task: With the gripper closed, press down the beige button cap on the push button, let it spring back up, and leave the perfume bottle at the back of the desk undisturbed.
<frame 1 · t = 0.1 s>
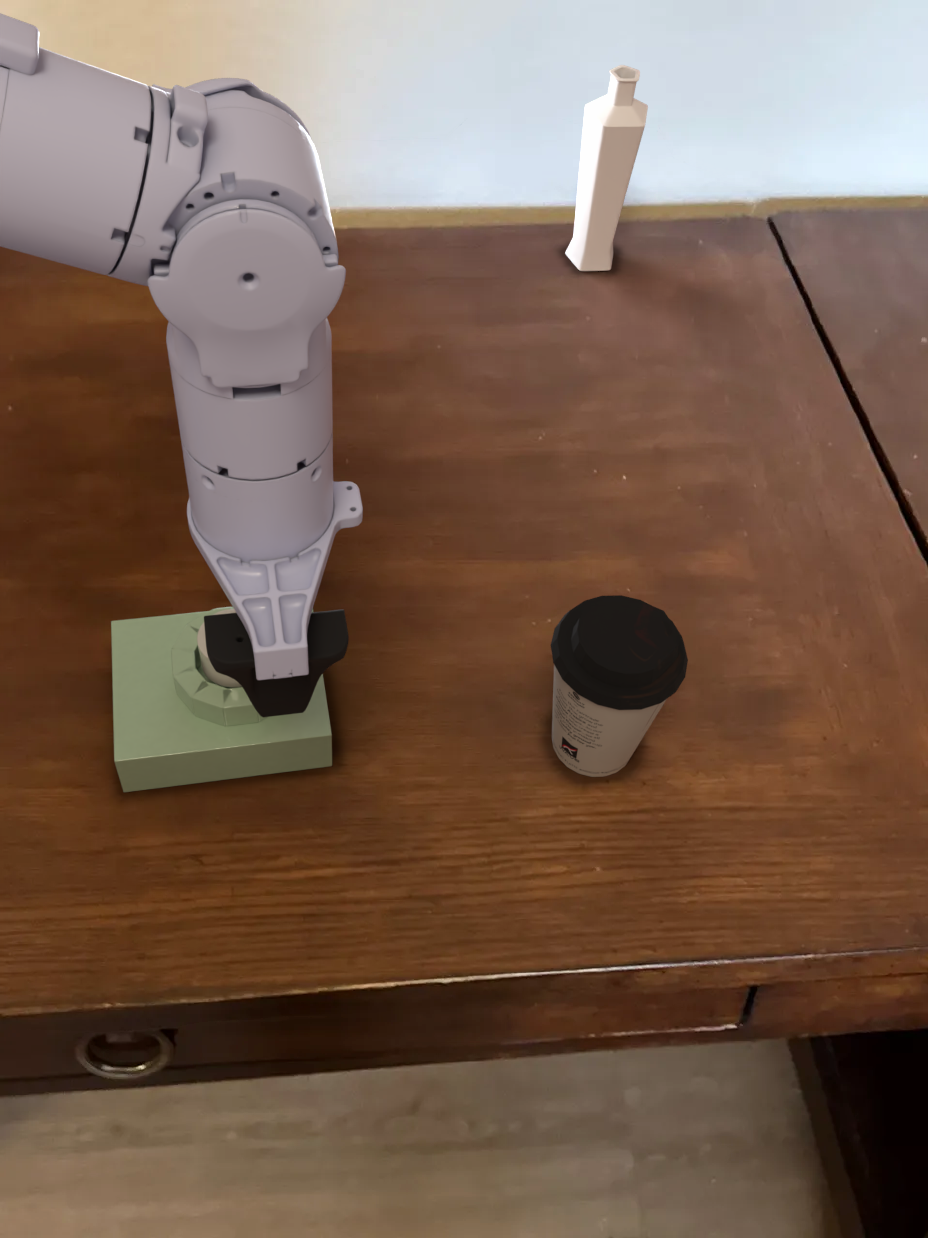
hand: (274, 640, 57), 11 cm above the table, tool pointing down, fingers open, 7 cm apart
coffee cup: (591, 743, 68), on the table
beige button cap: (234, 648, 63), point 6 cm above the table, slide at 0.1 cm
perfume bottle: (589, 260, 95), on the table
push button: (223, 709, 67), on the table
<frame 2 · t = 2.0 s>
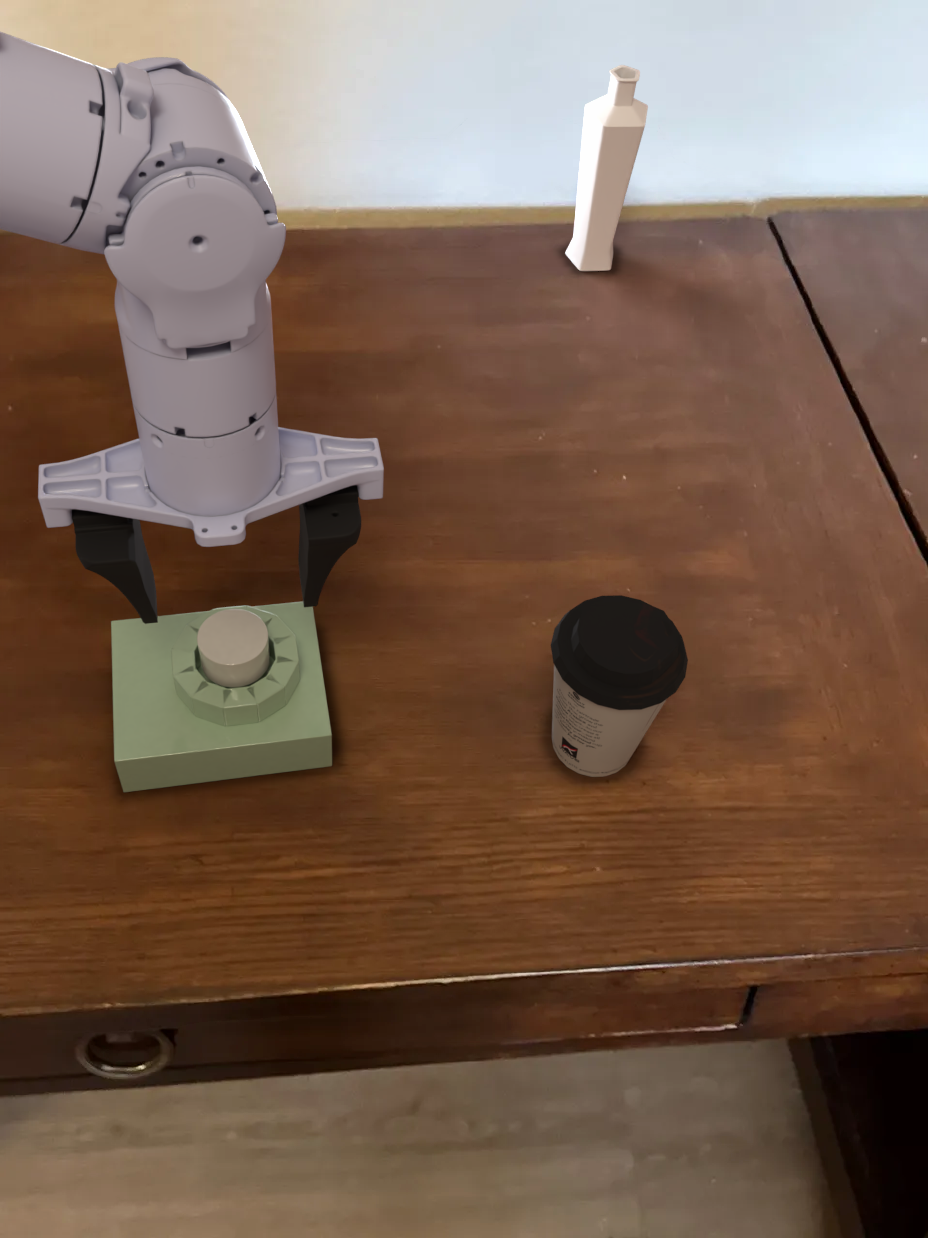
hand: (230, 599, 59), 10 cm above the table, tool pointing down, fingers open, 7 cm apart
nothing on the table moved.
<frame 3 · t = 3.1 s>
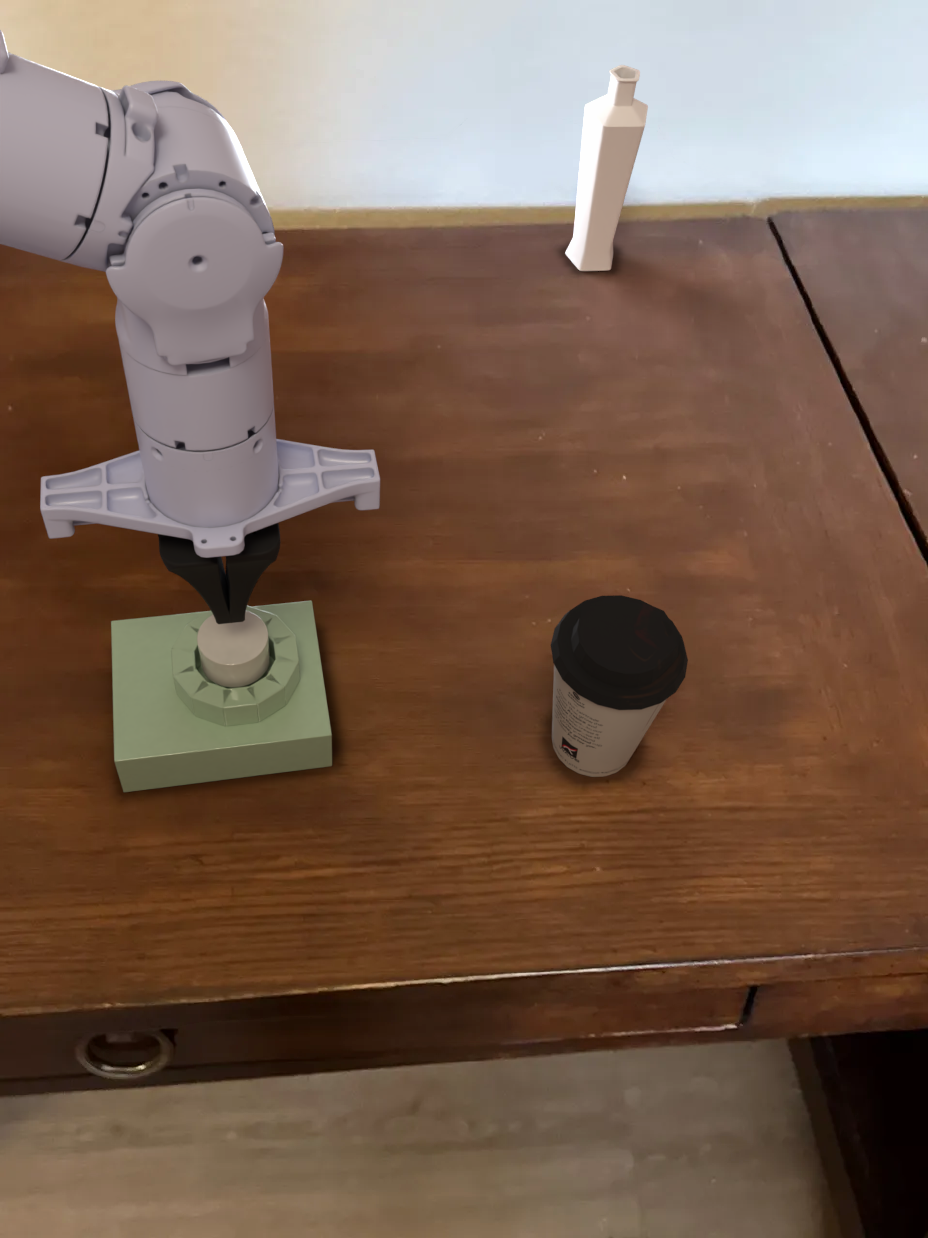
hand: (229, 607, 60), 9 cm above the table, tool pointing down, fingers closed
nothing on the table moved.
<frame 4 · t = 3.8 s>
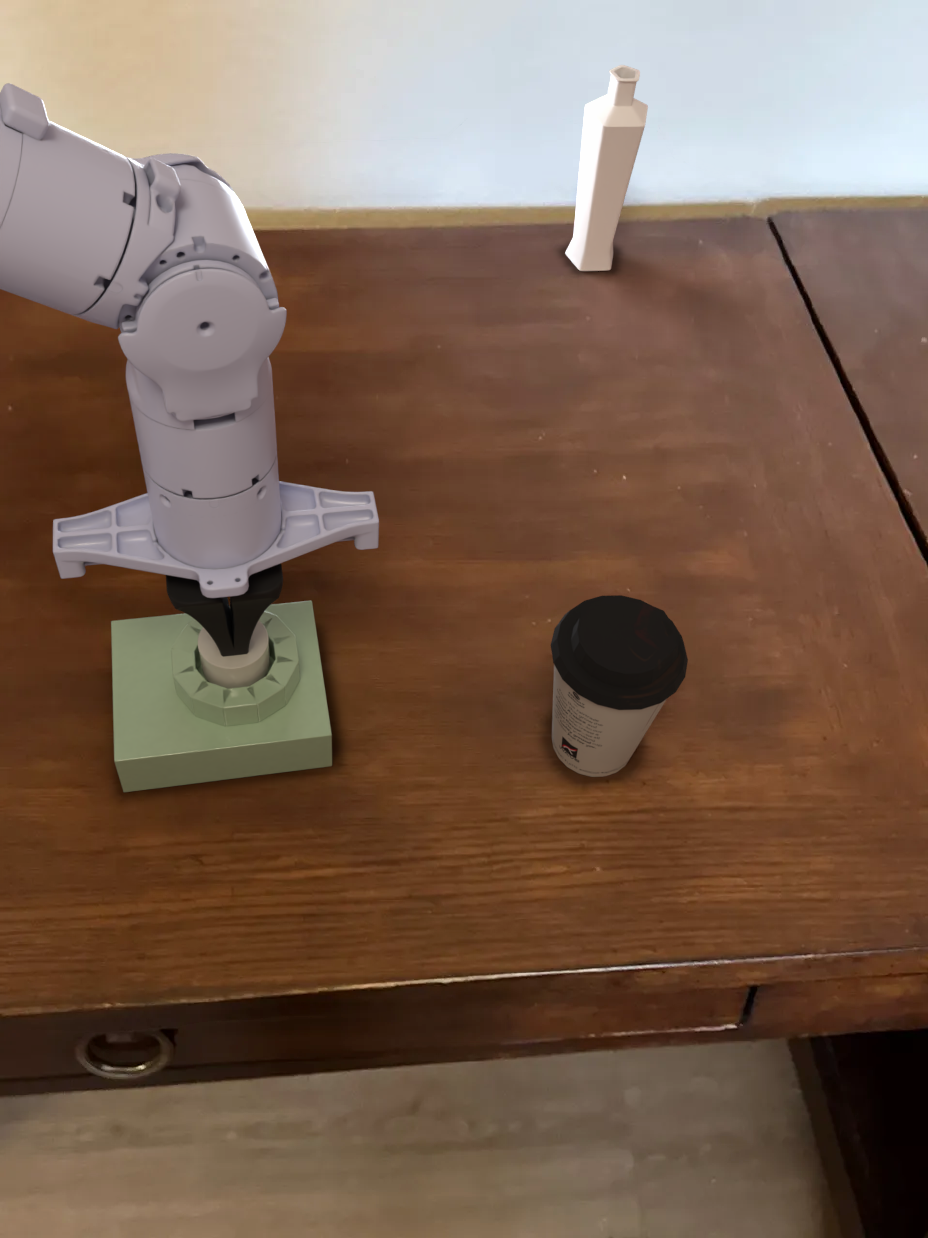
hand: (233, 640, 62), 6 cm above the table, tool pointing down, fingers closed, pressing on beige button cap
beige button cap: (234, 651, 63), point 5 cm above the table, slide at -0.2 cm, touching gripper
everything else where it was.
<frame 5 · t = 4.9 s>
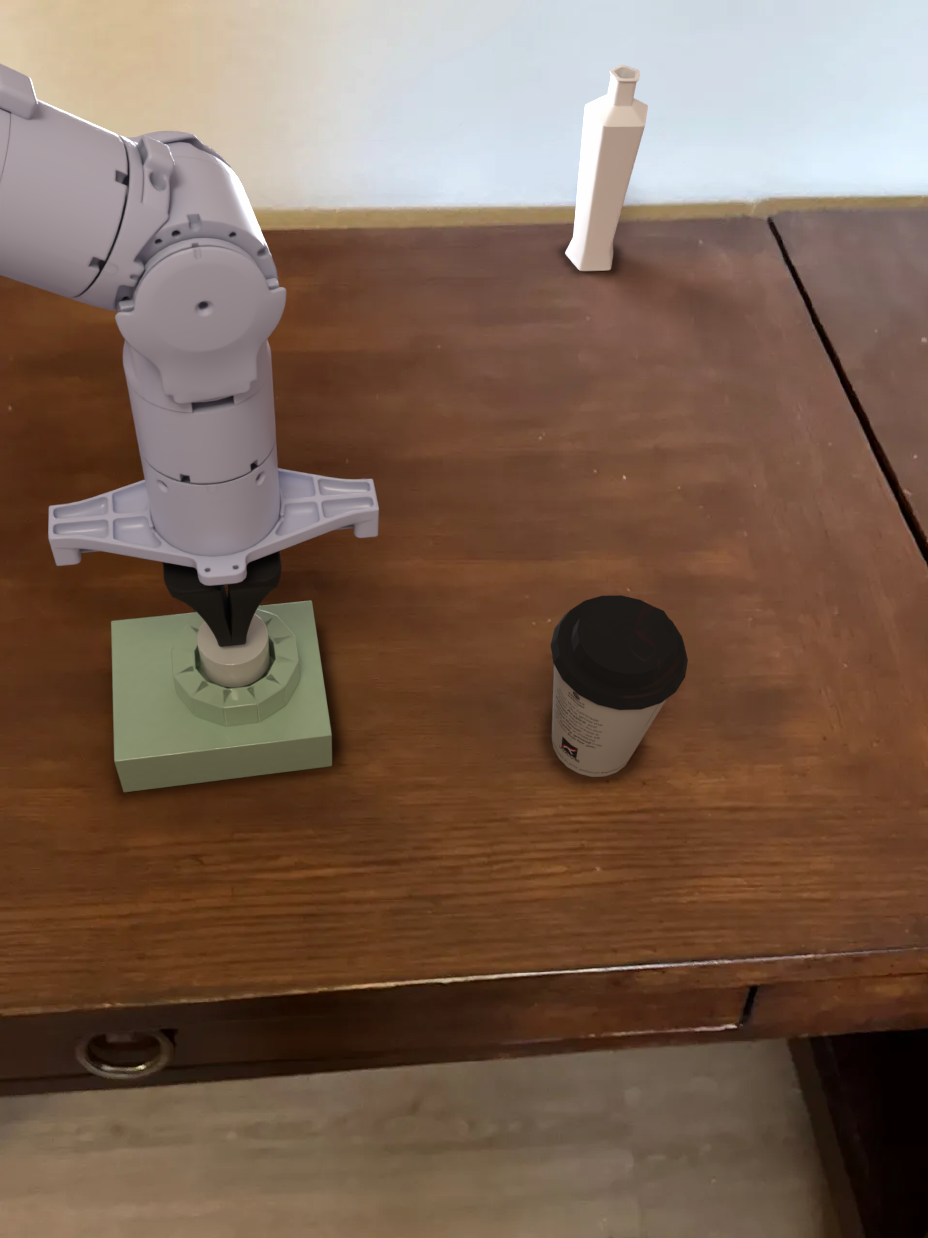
hand: (231, 630, 62), 7 cm above the table, tool pointing down, fingers closed
beige button cap: (234, 648, 63), point 6 cm above the table, slide at 0.1 cm
everything else where it was.
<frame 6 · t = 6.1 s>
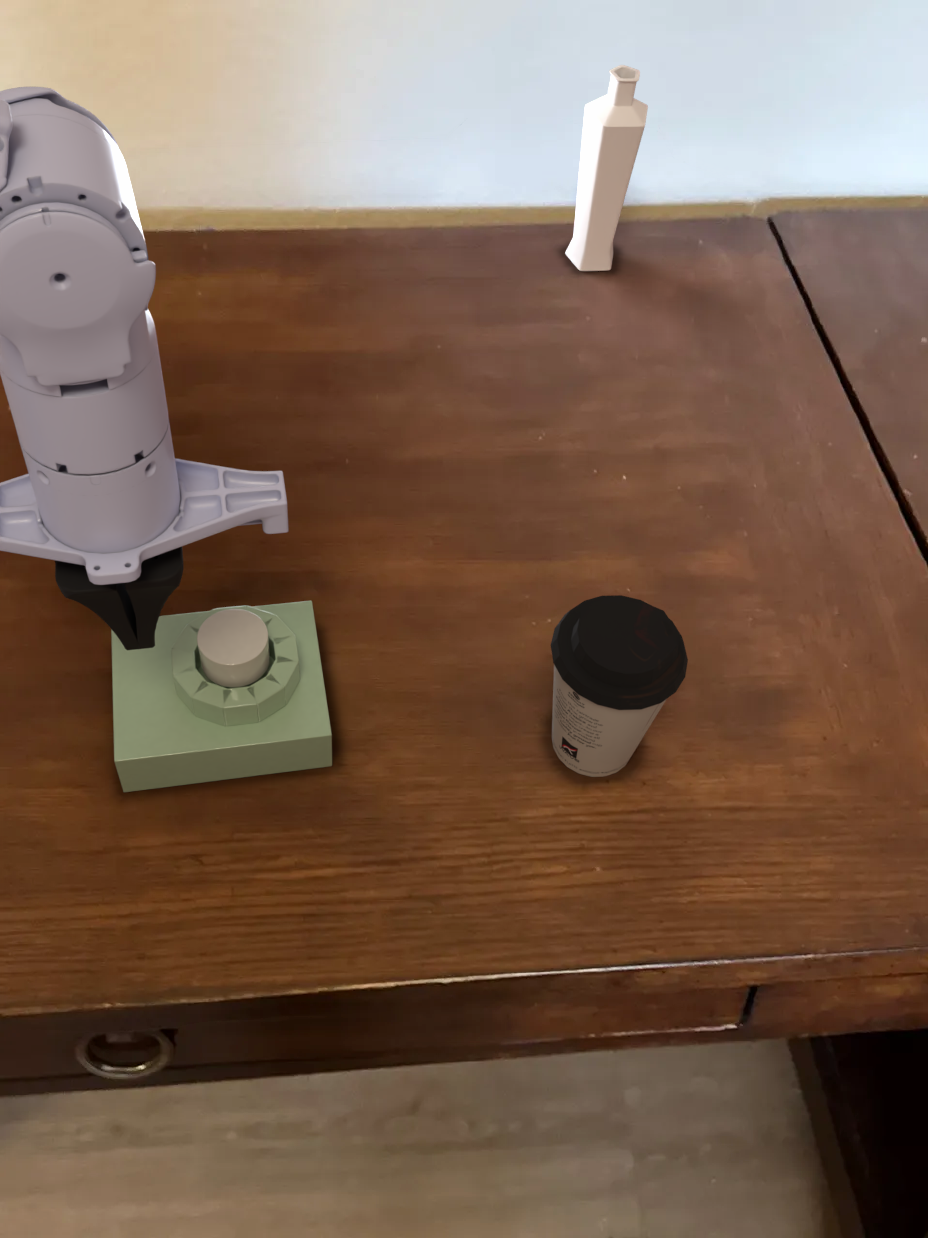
hand: (139, 632, 58), 10 cm above the table, tool pointing down, fingers closed
nothing on the table moved.
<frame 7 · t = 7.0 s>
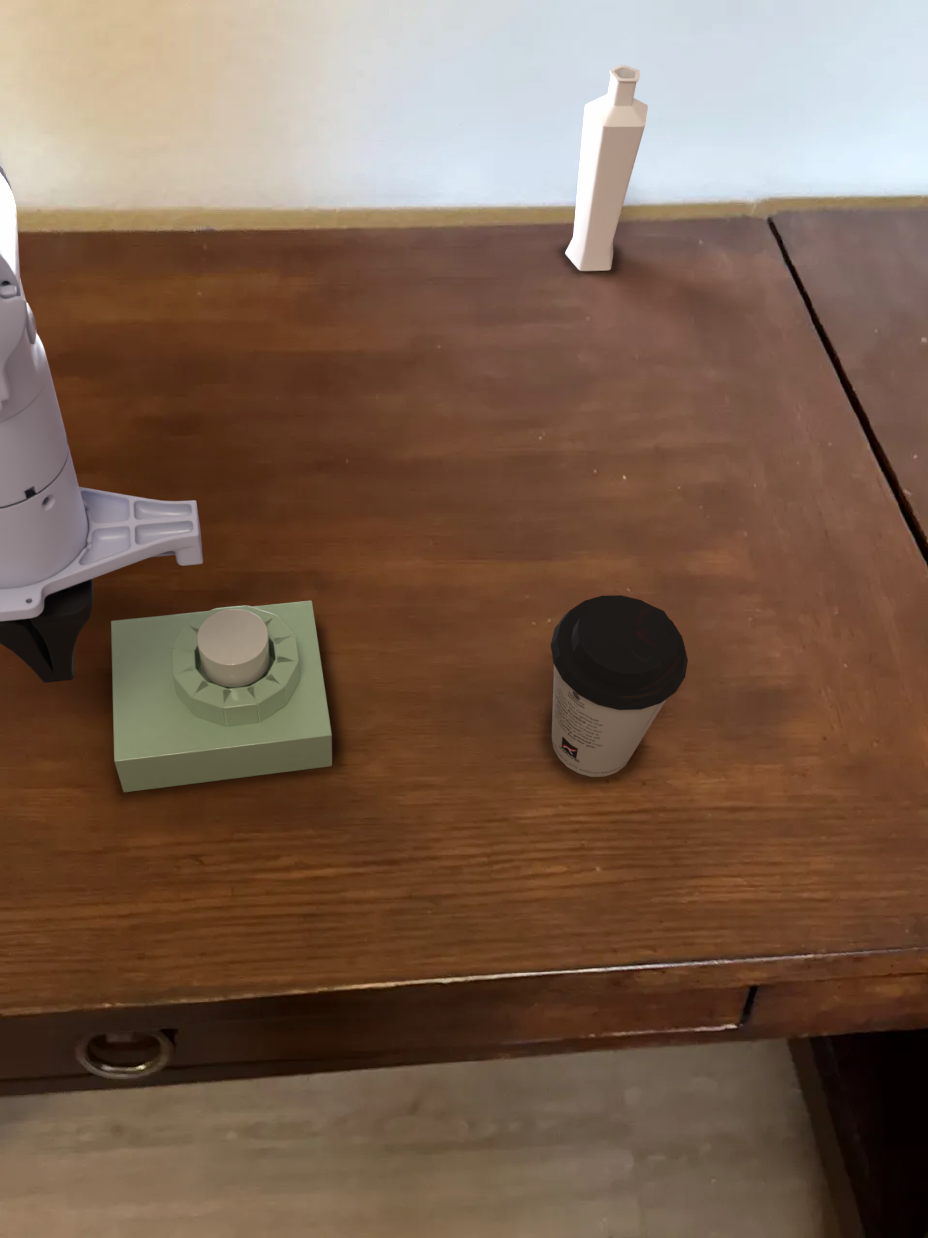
hand: (58, 664, 56), 10 cm above the table, tool pointing down, fingers closed
nothing on the table moved.
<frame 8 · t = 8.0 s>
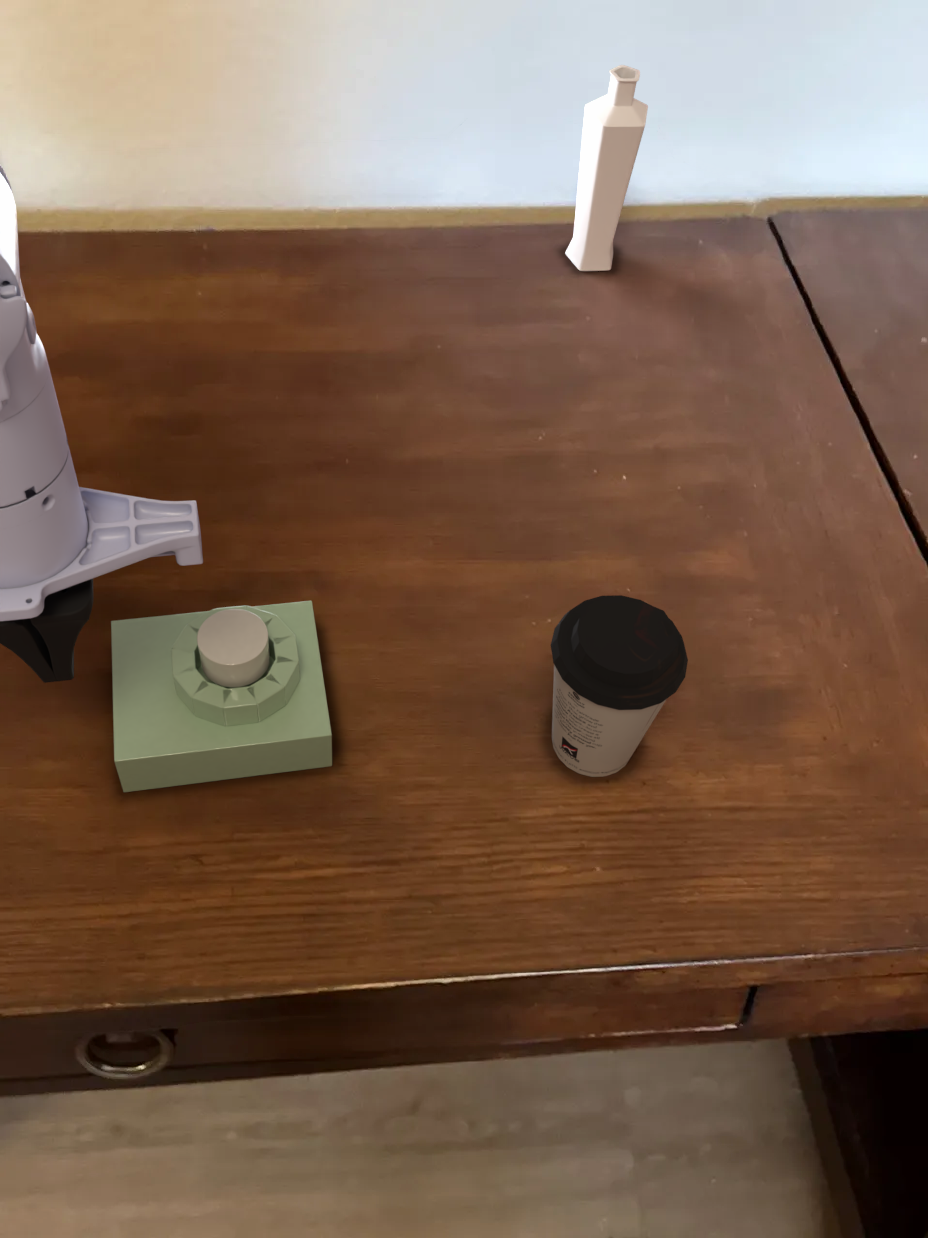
hand: (58, 664, 56), 10 cm above the table, tool pointing down, fingers closed
nothing on the table moved.
at the end: beige button cap pushed in 1.2 cm at the most during the clip, back to where it started at the end; beige button cap slide at 0.1 cm; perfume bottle moved 0.2 cm from its start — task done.
